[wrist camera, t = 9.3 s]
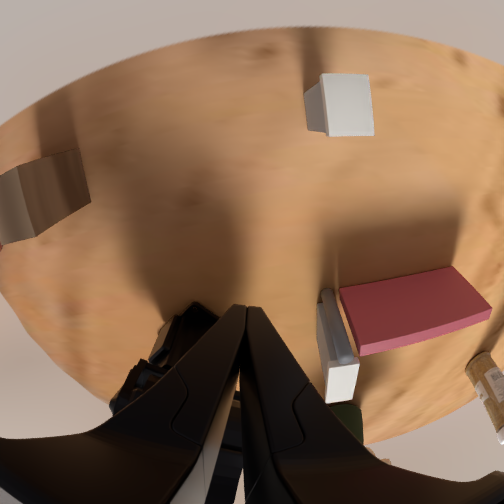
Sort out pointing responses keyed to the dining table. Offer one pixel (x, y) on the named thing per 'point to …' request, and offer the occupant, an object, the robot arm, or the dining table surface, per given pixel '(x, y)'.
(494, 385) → the sprinkles bottle
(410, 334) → the door
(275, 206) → the dining table surface
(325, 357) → the pair of grey plates
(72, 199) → the block
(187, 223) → the dining table surface
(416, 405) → the dining table surface
